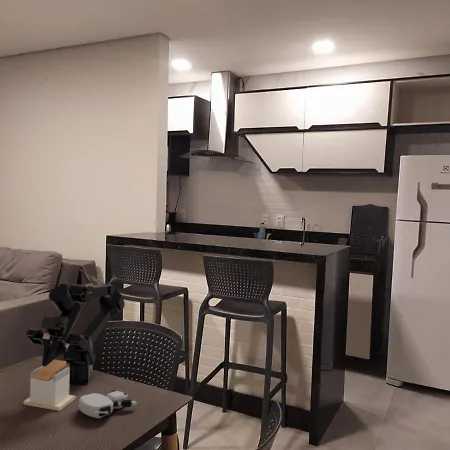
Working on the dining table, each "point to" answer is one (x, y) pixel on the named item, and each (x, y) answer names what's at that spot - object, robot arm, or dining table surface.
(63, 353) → the robot arm
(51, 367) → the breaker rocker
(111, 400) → the robot toy
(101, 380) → the dining table surface
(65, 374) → the box
